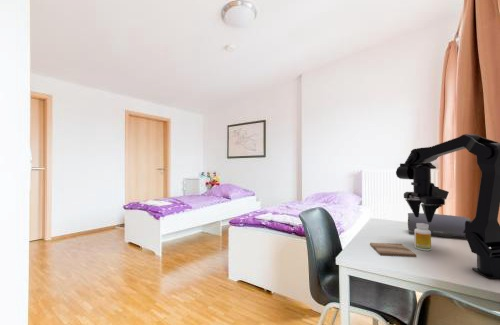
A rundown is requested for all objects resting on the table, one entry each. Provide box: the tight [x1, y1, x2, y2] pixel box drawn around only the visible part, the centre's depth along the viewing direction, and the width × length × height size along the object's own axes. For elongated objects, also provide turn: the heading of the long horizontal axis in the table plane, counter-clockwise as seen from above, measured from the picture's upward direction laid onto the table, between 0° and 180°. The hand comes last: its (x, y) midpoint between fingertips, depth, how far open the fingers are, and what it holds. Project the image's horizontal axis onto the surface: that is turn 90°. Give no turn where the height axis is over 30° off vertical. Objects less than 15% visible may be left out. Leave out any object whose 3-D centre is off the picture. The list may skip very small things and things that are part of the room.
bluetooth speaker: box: [407, 212, 471, 238], centre depth 113 cm, size 23×9×10 cm, turn 59°
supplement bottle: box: [413, 223, 432, 252], centre depth 96 cm, size 5×5×10 cm
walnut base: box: [369, 242, 417, 258], centre depth 94 cm, size 12×12×2 cm
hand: (422, 219), depth 96 cm, fingers open, 9 cm apart
